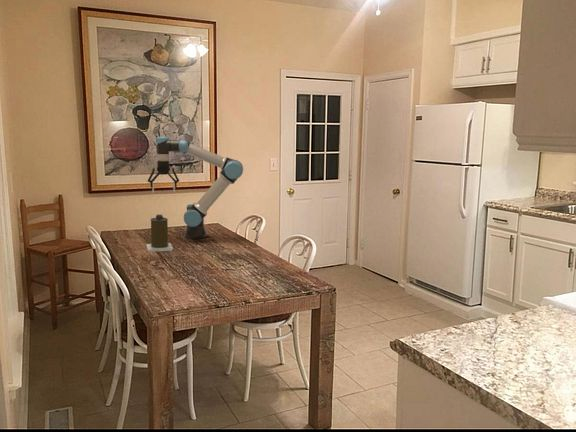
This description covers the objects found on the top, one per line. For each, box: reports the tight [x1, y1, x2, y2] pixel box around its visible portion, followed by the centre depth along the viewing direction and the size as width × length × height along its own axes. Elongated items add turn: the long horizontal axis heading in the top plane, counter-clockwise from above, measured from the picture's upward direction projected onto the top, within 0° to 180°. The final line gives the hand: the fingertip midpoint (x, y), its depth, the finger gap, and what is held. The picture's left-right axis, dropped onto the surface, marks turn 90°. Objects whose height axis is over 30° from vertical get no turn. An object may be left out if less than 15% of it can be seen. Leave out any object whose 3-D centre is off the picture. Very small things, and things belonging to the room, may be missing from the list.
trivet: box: [146, 242, 174, 253], centre depth 307 cm, size 15×15×2 cm
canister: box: [150, 214, 169, 248], centre depth 305 cm, size 11×10×20 cm
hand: (163, 192), depth 324 cm, fingers open, 13 cm apart
